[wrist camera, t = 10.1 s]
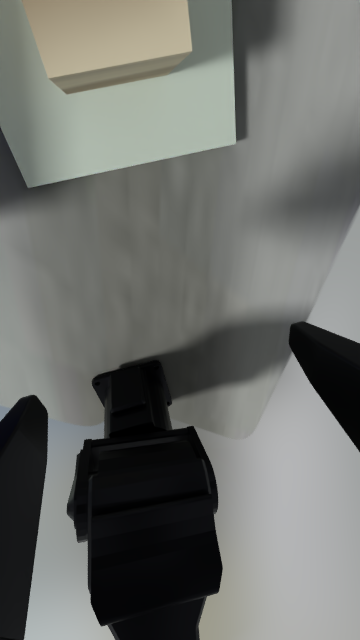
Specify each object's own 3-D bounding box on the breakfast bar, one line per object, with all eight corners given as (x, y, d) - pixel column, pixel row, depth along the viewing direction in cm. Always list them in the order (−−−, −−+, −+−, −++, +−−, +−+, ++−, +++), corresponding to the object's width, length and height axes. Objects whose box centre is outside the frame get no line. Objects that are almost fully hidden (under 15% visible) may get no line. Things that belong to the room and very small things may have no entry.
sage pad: (229, 143, 17) (235, 143, 16) (32, 185, 16) (28, 188, 15) (213, -264, 9) (222, -300, 9) (-154, -232, 8) (-181, -270, 8)
